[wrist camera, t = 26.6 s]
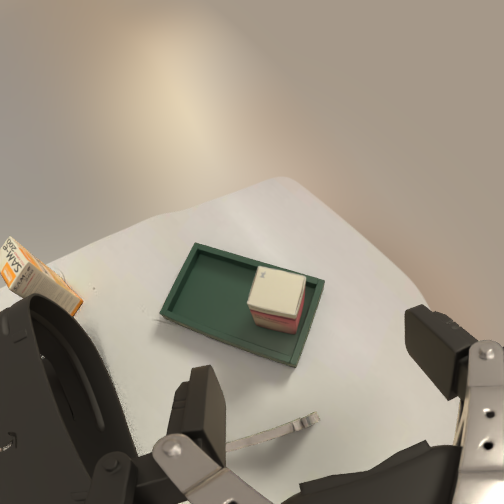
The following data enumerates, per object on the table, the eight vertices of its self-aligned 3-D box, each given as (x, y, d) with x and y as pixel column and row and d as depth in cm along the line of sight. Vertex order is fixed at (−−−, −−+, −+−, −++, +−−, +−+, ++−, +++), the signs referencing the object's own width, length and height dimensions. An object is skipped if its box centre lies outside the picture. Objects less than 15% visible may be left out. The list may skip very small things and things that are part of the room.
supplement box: (85, 300, 42) (29, 260, 31) (67, 325, 41) (8, 291, 29) (60, 274, 45) (9, 233, 34) (44, 296, 44) (-9, 260, 32)
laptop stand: (104, 325, 40) (31, 279, 27) (157, 489, 29) (84, 517, 15) (-2, 370, 38) (-69, 343, 25) (29, 502, 26) (-44, 505, 13)
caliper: (314, 411, 32) (318, 411, 26) (318, 419, 31) (322, 421, 26) (152, 459, 31) (128, 465, 25) (155, 467, 30) (131, 474, 25)
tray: (323, 287, 39) (325, 280, 37) (296, 368, 35) (296, 365, 33) (199, 250, 44) (194, 242, 42) (165, 318, 40) (159, 313, 38)
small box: (254, 325, 37) (244, 304, 30) (264, 293, 39) (257, 264, 32) (296, 336, 36) (296, 316, 29) (305, 302, 38) (306, 275, 31)
